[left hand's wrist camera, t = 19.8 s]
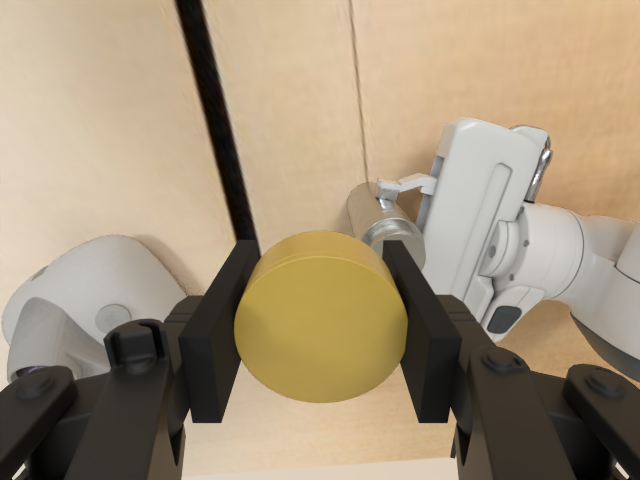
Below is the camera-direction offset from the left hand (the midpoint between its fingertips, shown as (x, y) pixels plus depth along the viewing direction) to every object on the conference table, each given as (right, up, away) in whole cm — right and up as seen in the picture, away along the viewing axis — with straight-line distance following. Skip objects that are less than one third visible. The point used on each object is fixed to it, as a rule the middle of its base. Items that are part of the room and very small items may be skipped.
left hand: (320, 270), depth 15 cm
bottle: (+5, +5, +23) cm, 24 cm away
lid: (0, -2, -4) cm, 4 cm away
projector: (-21, -9, +28) cm, 36 cm away
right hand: (+4, +3, +16) cm, 17 cm away
